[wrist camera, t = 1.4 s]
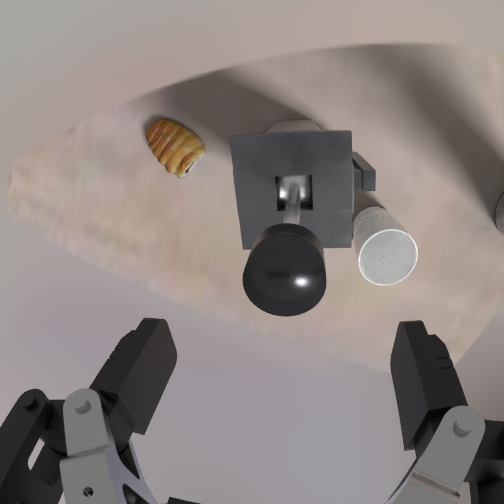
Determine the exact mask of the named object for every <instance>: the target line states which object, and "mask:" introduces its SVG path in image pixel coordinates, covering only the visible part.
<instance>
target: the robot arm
mask: <svg viewBox="0 0 504 504" xmlns="http://www.w3.org/2000/svg"><path fill="white" fill-rule="evenodd" d="M495 220H496V225H497V228H498V230H499V231H500V232H501V234H503V235H504V194H503V195H502V196H501V198H500V200H499V202H498V204H497V208H496V214H495ZM176 361H177V351H176V347H175V344H174V342H173V339H172V336H171V333H170V330H169V327H168V324H167V321H166V320H165V319H157V318H156V319H155V318H144V319H143V320H142V321H141V323H140V324H139V326H138V327H137V329H136V330H132V331H130V332H129V333H128V334H126V335H125V336H124V337H123V338H122V339H121V340H120V341H119V343H118V345H117V346H116V347H115V351H113V352H112V353H111V355H110V358H109V359H107V361H106V362H105V364H104V365H103V367H102V369H101V370H100V372H99V373H98V375H97V376H96V378H95V379H94V381H93V383H92V384H91V386H90V387H89V388H88V389H79V390H77V391H75V392H73V393H72V394H70V395H69V396H68V397H67V399H66V400H49V399H48V398H47V397H46V395H45V394H44V393H43V392H42V391H41V390H39V389H31V390H28V391H26V392H25V393H23V394H22V395H21V396H20V397H19V399H18V400H17V402H16V403H15V405H14V407H13V408H12V409H11V411H10V413H9V414H8V416H7V417H6V419H5V421H4V422H3V424H2V426H1V427H0V504H58V502H59V500H60V498H61V495H62V493H63V491H64V496H65V501H66V504H158V503H157V501H156V499H155V497H154V496H153V494H152V493H151V491H150V489H149V488H148V486H147V484H146V482H145V480H144V477H143V475H142V472H141V469H140V466H139V463H138V460H137V457H136V454H135V451H134V448H133V444H132V442H131V440H130V437H131V435H132V433H133V432H135V433H138V434H142V435H144V434H145V432H146V430H147V427H148V425H149V423H150V420H151V419H152V416H153V414H154V412H155V410H156V407H157V405H158V403H159V401H160V398H161V396H162V394H163V392H164V390H165V387H166V385H167V383H168V381H169V378H170V376H171V374H172V372H173V370H174V367H175V365H176ZM390 366H391V374H392V379H393V384H394V389H395V394H396V400H397V405H398V411H399V417H400V423H401V430H402V436H403V443H404V450H405V451H407V450H414V449H415V452H416V459H415V460H414V462H413V463H412V465H411V466H410V468H409V469H408V471H407V472H406V474H405V475H404V477H403V478H402V480H401V481H400V483H399V484H398V486H397V487H396V488H395V490H394V491H393V493H392V494H391V495H390V497H389V498H388V499H387V501H386V502H385V503H384V504H457V503H458V501H459V497H460V495H459V494H458V491H459V489H460V487H461V485H462V483H463V482H469V485H470V494H471V504H504V421H503V422H502V421H491V420H485V419H483V417H482V415H481V414H480V413H479V412H478V411H477V410H475V409H474V408H472V407H469V406H468V404H467V401H466V398H465V395H464V393H463V390H462V387H461V384H460V381H459V378H458V376H457V373H456V370H455V368H454V365H453V363H452V360H451V359H450V355H449V353H448V350H447V348H446V345H445V344H444V343H443V342H442V341H441V340H440V339H439V338H438V337H437V335H436V334H434V335H428V333H427V331H426V328H425V326H424V323H423V322H422V321H421V320H418V321H403V322H400V323H399V325H398V329H397V333H396V338H395V342H394V346H393V350H392V354H391V362H390ZM39 438H40V439H41V440H42V441H43V442H44V443H45V444H44V446H43V448H42V450H41V452H40V454H39V456H38V458H37V460H36V462H35V464H34V466H33V468H32V469H31V470H30V469H29V467H28V459H29V457H30V455H31V453H32V451H33V449H34V447H35V445H36V443H37V441H38V440H39ZM167 504H199V503H194V502H190V501H185V500H180V499H177V498H172V497H169V500H168V503H167Z"/></svg>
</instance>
